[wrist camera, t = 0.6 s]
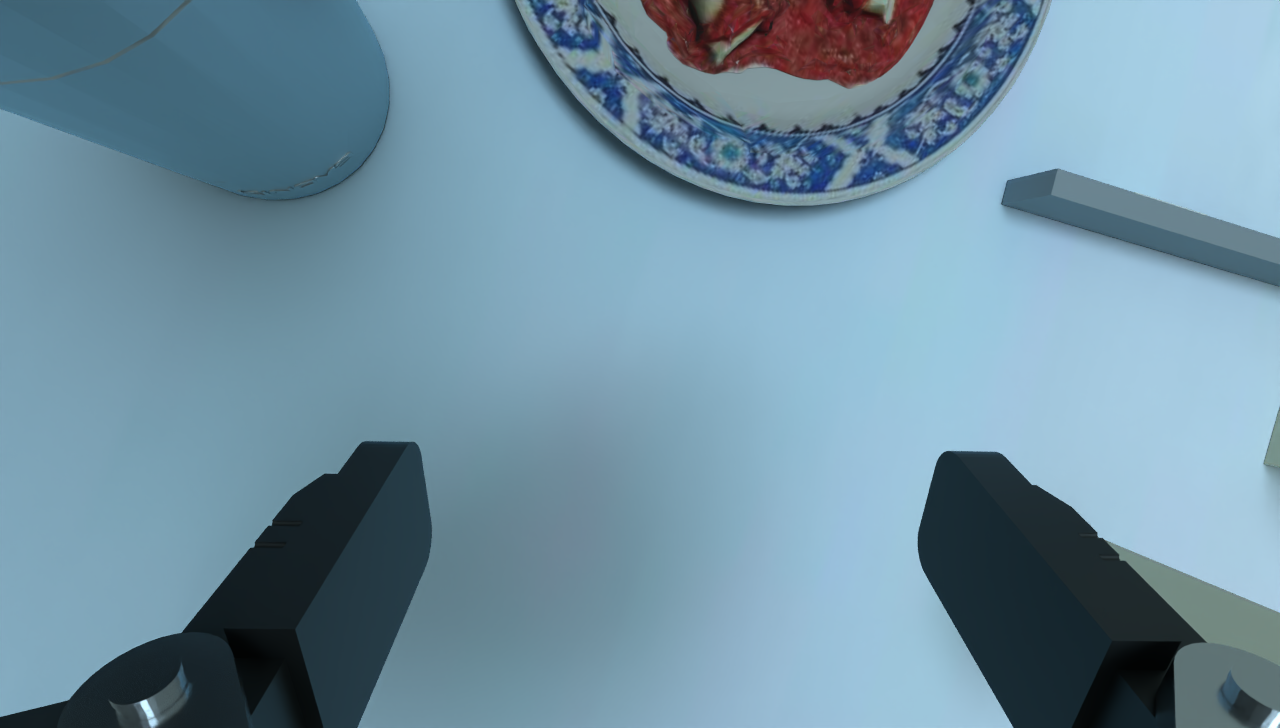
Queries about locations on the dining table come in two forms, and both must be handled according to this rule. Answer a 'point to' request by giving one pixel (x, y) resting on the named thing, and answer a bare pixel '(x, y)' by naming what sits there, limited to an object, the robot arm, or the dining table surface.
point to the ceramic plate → (789, 84)
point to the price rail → (1146, 222)
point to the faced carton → (1274, 446)
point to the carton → (1211, 608)
